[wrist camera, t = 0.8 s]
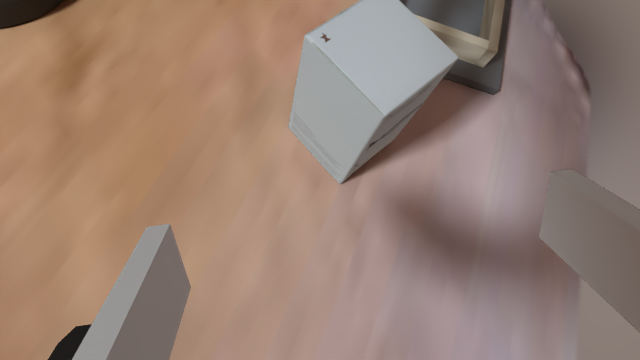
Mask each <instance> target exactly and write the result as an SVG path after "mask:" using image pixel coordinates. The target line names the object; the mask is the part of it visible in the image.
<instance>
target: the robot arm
mask: <svg viewBox="0 0 640 360" xmlns="http://www.w3.org/2000/svg"><path fill="white" fill-rule="evenodd" d="M62 1H63V0H0V28H2V27H8V26H13V25H17V24H20V23H24V22H26V21H29V20H32V19H34V18H36V17H39V16H41V15H43V14H44V13H46V12H48V11H49V10H51V9H53V8H54V7H55V6H57V5H58V4H59V3H60V2H62ZM539 238H540V239H541V240H542V241H543V242H544V243H545V244H546V245H548V246H549V247H550V248H551V249H552V250H553V251H554V252H555V253H556V254H557V255H558V256H559V257H560V258H561V259H562V260H563V261H564V262H566V263H567V264H568V265H569V266H570V267H571V268H572V269H573V270H574V271H575V272H576V273H577V274H578V275H579V276H580V277H581V278H582V279H584V280H585V281H586V282H587V283H588V284H589V285H590V286H591V287H592V288H593V289H594V290H595V291H596V292H597V293H598V294H600V295H601V296H602V297H603V298H604V299H605V300H606V301H607V302H608V303H609V304H610V305H611V306H612V307H613V308H614V309H615V310H616V311H617V312H619V313H620V314H621V315H622V316H623V317H624V318H625V319H626V320H627V321H628V322H629V323H630V324H631V325H632V326H633V327H635V329H637V330H638V331H639V332H640V209H638V208H636V207H635V206H633V205H631V204H630V203H628V202H626V201H625V200H623V199H621V198H620V197H618V196H616V195H615V194H613V193H611V192H610V191H608V190H606V189H605V188H603V187H601V186H600V185H598V184H596V183H595V182H593V181H591V180H590V179H588V178H586V177H585V176H583V175H581V174H580V173H578V172H577V171H575V170H573V169H567V170H560V171H552V172H551V173H550V179H549V184H548V190H547V195H546V201H545V206H544V212H543V217H542V223H541V228H540V234H539ZM190 288H191V286H190V283H189V280H188V277H187V274H186V271H185V268H184V265H183V262H182V259H181V256H180V253H179V250H178V247H177V244H176V241H175V237H174V234H173V231H172V228H171V225H170V224H165V225H157V226H150V227H147V228H146V229H145V231H144V233H143V235H142V236H141V238H140V240H139V242H138V243H137V245H136V247H135V249H134V251H133V252H132V254H131V256H130V258H129V259H128V261H127V263H126V265H125V267H124V268H123V270H122V272H121V274H120V275H119V277H118V279H117V281H116V282H115V284H114V286H113V288H112V290H111V291H110V293H109V295H108V297H107V298H106V300H105V302H104V304H103V305H102V307H101V309H100V311H99V313H98V314H97V316H96V318H95V320H94V321H93V323H92V324H90V325H83V326H76V327H75V328H74V329H73V330H72V331H71V332H70V333H69V334H68V335H67V336H65V337H64V338H63V339H62V340H61V341H60V342H59V343H58V344H57V346H56V347H55V349H54V351H53V352H52V354H51V355H50V357H49V359H48V360H169V358H170V355H171V351H172V348H173V345H174V341H175V338H176V335H177V331H178V328H179V325H180V321H181V318H182V315H183V311H184V308H185V305H186V301H187V298H188V295H189V291H190Z"/></svg>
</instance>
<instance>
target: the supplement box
mask: <svg viewBox="0 0 640 360" xmlns="http://www.w3.org/2000/svg"><path fill="white" fill-rule="evenodd" d="M457 60H458V56H457V55H456V54H455V53H454V52H453V51H452V50H451V49H450V48H449V47H448V46H447V45H446V44H445V43H444V42H443V41H442V40H441V39H439V38H438V37H437V36H436V35H435V34H434V33H433V32H432V31H431V30H430V29H429V28H428V27H427V26H426V25H425V24H424V23H423V22H422V21H421V20H420V19H418V18H417V17H416V16H415V15H414V14H413V13H412V12H411V11H410V10H409V9H408V8H407V7H406V6H405V5H404V4H403V3H402V2H401V1H400V0H360V1H359V2H357V3H355V4H354V5H352V6H351V7H349V8H347V9H345V10H344V11H342V12H341V13H339V14H338V15H336V16H335V17H333V18H332V19H330V20H328V21H327V22H325V23H324V24H322V25H320V26H319V27H317V28H315V29H314V30H312V31H311V32H309V33H307V34H306V35H305V37H304V42H303V48H302V53H301V59H300V65H299V70H298V76H297V81H296V87H295V92H294V98H293V104H292V109H291V115H290V120H289V126H288V127H289V129H290V130H291V131H292V132H293V133H294V134H295V135H296V137H297V138H298V139H299V140H300V141H301V142H302V143H303V144H304V145H305V147H306V148H307V149H308V150H309V151H310V152H311V153H312V154H313V155H314V157H315V158H316V159H317V160H318V161H319V162H320V163H321V164H322V165H323V167H324V168H325V169H326V170H327V171H328V172H329V173H330V174H331V175H332V177H333V178H334V179H335V180H336V181H337V182H338V183H339V184H342V183H343V182H344V181H345V180H346V179H347V178H348V177H349V176H350V175H352V174H353V173H354V172H355V171H356V170H357V169H358V168H360V167H361V166H362V165H363V164H364V163H366V162H367V161H368V160H369V159H370V158H372V157H373V156H374V155H375V154H377V153H378V152H379V151H380V150H382V149H383V148H384V147H385V146H387V145H388V144H389V143H391V142H392V141H393V140H394V139H395V138H396V137H397V136H398V134H399V133H400V132H401V131H402V129H403V128H404V127H405V126H406V125H407V123H408V122H409V121H410V119H411V118H412V117H413V116H414V114H415V113H416V112H417V111H418V109H419V108H420V107H421V106H422V104H423V103H424V102H425V101H426V99H427V98H428V97H429V95H430V94H431V93H432V92H433V90H434V89H435V88H436V86H437V85H438V84H439V82H440V81H441V80H442V79H443V77H444V76H445V75H446V74H447V72H448V71H449V70H450V68H451V67H452V66H453V65H454V63H455V62H456V61H457Z"/></svg>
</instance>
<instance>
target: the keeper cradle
mask: <svg viewBox="0 0 640 360" xmlns="http://www.w3.org/2000/svg"><path fill="white" fill-rule="evenodd" d="M400 1H401V2H402V3H403V4H404V5H405V6H406V7H407V8H408V9H409V10H410V11H411V12H412V13H413V14H414V15H415V16H416V17H417V18H418V19H420V20H421V21H422V22H423V23H424V24H425V25H426V26H427V27H428V28H429V29H430V30H431V31H432V32H433V33H434V34H435V35H436V36H437V37H438V38H439V39H441V40H442V41H443V42H444V43H445V44H446V45H447V46H448V47H449V48H450V49H451V50H452V51H453V52H454V53H455V54H456V55H457V56H458V60H457V61H456V62H455V63H454V65H453V66H452V67H451V68H450V70H449V71H448V72H447V74H446V75H445V76H444V77H443V78H446V79H449V80H452V81H455V82H458V83H461V84H463V85H466V86H469V87H472V88H475V89H478V90H481V91H484V92H486V93H489V94H492V95H494V94H495V93H496V92H497V91H498V90H499V88H500V81H501V73H502V66H503V59H504V51H505V44H506V37H507V29H508V22H509V14H510V7H511V0H400Z"/></svg>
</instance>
